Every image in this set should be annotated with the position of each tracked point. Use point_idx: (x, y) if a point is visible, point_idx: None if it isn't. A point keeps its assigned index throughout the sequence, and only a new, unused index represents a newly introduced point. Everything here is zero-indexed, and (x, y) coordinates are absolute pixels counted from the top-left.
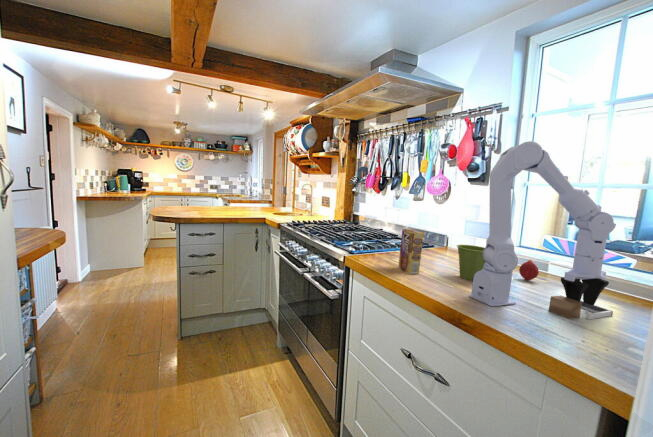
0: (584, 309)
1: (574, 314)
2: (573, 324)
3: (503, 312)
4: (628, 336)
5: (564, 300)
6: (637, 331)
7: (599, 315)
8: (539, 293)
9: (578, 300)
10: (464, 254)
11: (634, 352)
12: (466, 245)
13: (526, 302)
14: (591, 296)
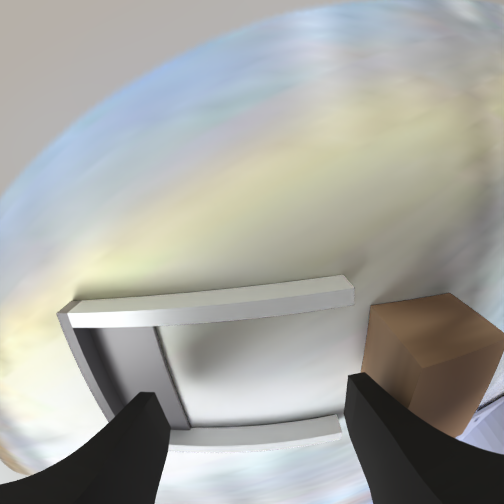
0: (175, 390)
1: (428, 309)
2: (492, 231)
3: None
4: (351, 41)
5: (480, 386)
6: (177, 75)
7: (208, 297)
8: (215, 501)
9: (400, 403)
10: None
11: (474, 4)
12: None
13: None
14: (140, 450)
